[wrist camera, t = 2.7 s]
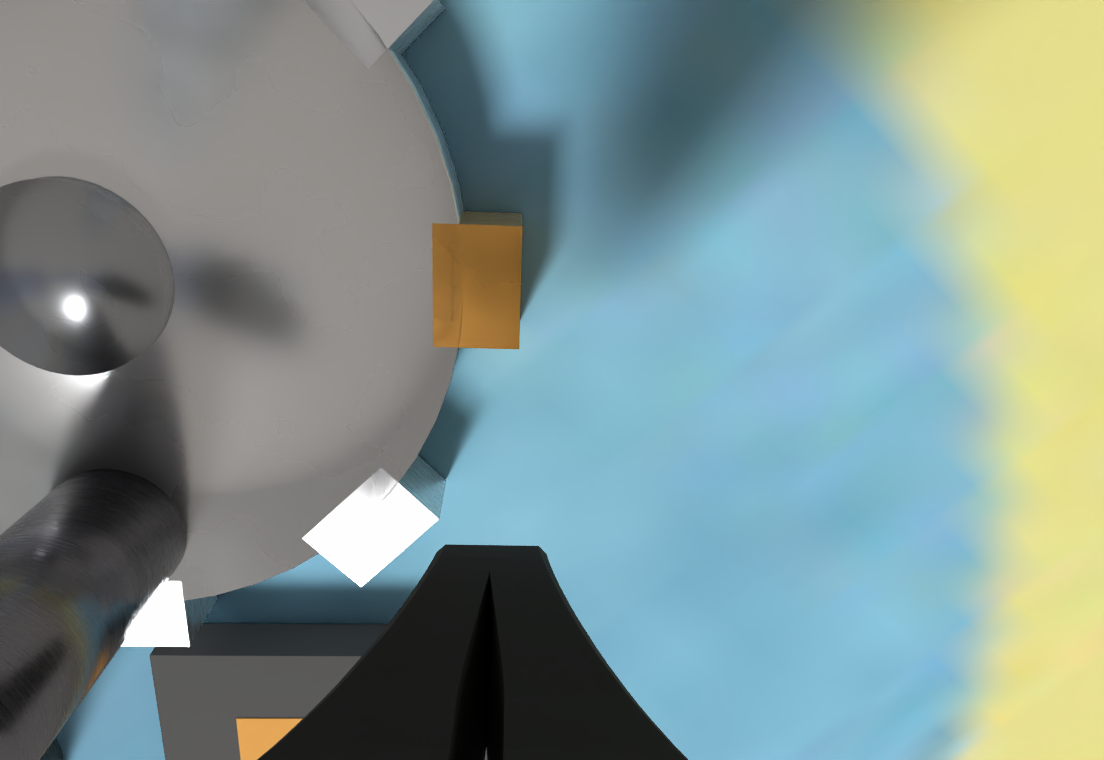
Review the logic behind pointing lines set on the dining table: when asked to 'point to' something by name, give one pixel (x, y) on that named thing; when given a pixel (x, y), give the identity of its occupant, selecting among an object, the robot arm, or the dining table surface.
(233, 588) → the sprocket
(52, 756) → the roller
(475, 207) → the dining table surface
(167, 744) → the pad
